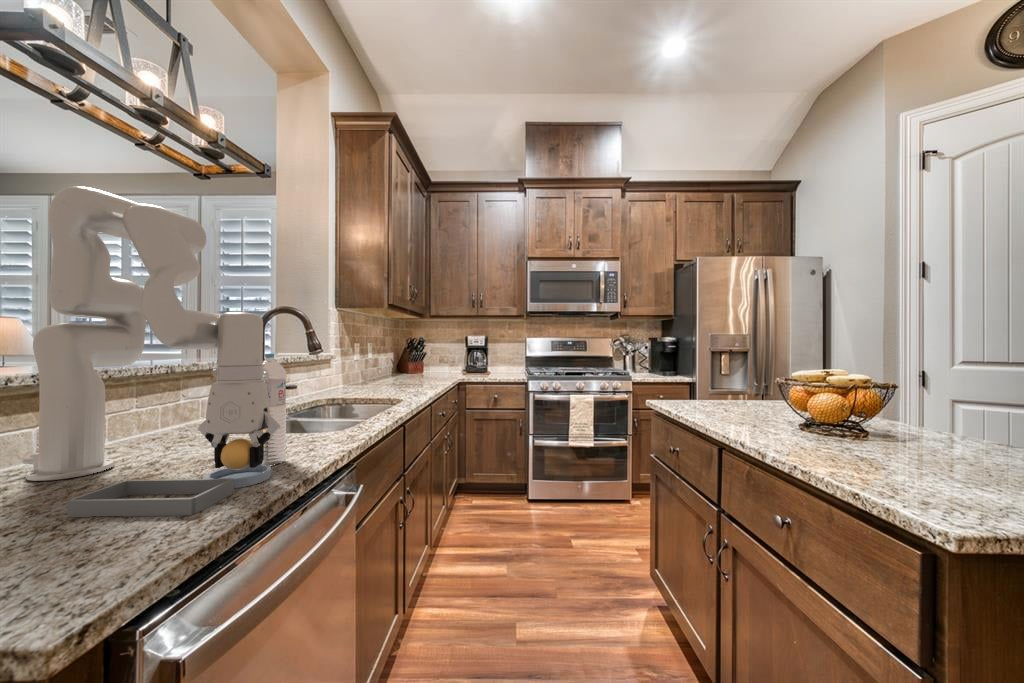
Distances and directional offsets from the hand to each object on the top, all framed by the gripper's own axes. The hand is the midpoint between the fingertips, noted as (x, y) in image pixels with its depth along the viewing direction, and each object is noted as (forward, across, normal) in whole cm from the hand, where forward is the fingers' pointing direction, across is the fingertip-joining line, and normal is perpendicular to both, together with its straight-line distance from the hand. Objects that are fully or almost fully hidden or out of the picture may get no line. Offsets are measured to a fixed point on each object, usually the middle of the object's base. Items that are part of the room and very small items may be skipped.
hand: (239, 465), depth 80 cm
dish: (+3, 0, 0) cm, 3 cm away
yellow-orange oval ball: (+1, 0, 0) cm, 1 cm away
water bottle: (+3, -1, +12) cm, 12 cm away
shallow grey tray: (+3, -6, -12) cm, 14 cm away
